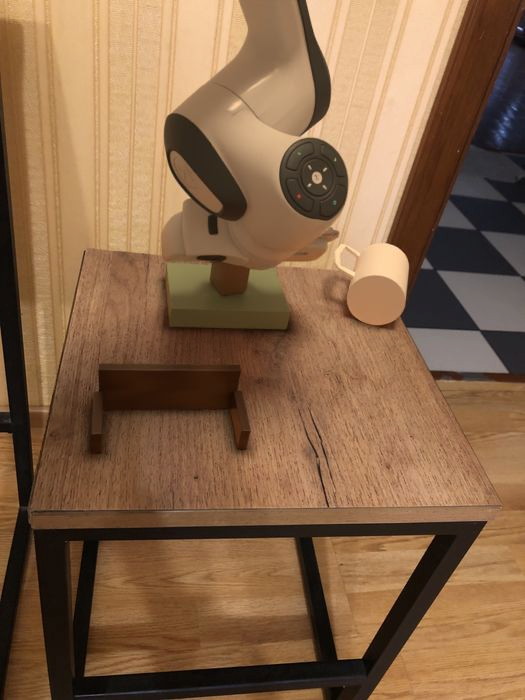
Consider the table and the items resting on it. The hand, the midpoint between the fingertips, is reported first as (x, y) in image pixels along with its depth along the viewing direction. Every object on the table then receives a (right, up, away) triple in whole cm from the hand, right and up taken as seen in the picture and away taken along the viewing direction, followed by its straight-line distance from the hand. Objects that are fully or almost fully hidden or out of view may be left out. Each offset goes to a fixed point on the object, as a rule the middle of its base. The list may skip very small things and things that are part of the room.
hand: (230, 257), depth 78 cm
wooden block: (-1, -4, +2) cm, 5 cm away
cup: (+19, -5, +4) cm, 20 cm away
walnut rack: (-6, -21, -16) cm, 27 cm away
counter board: (-1, -6, +4) cm, 7 cm away
